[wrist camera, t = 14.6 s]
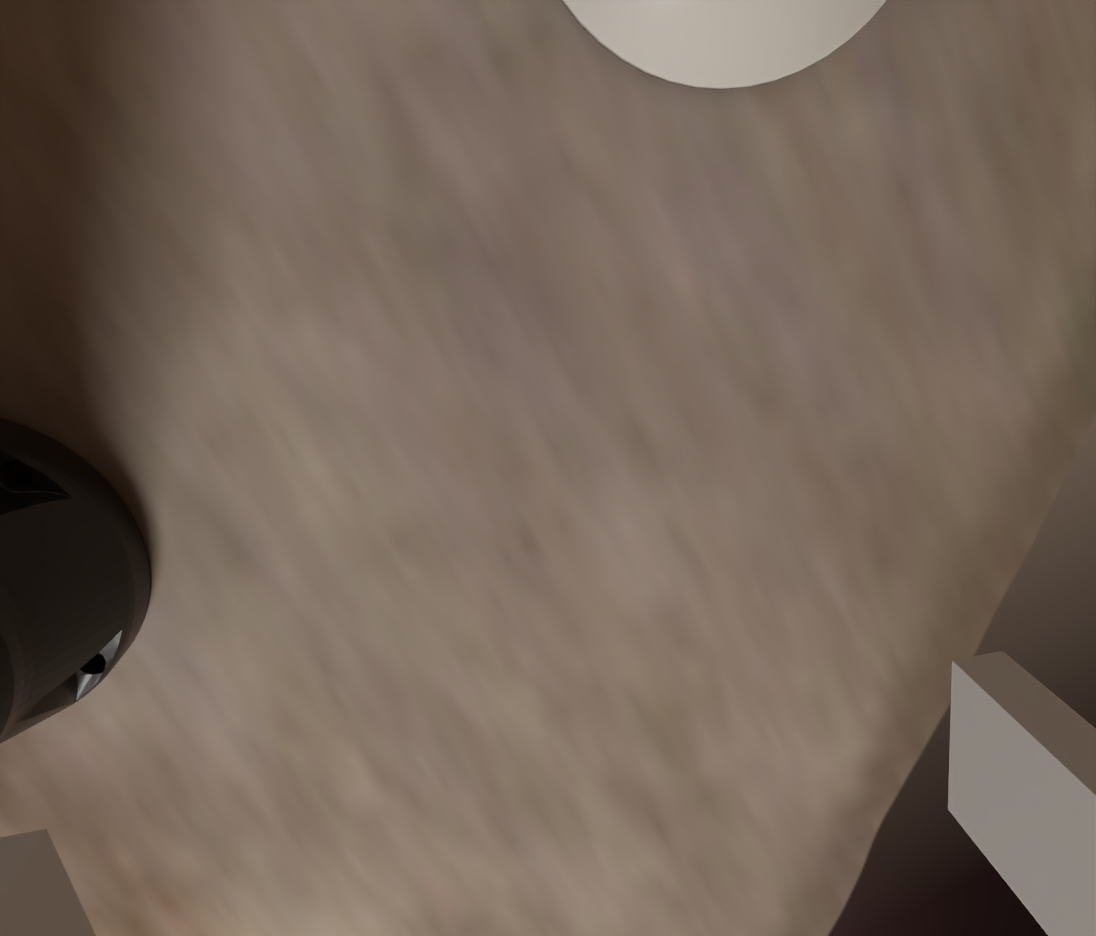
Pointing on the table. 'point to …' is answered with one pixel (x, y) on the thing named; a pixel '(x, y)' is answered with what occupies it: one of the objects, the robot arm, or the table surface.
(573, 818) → the table surface
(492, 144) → the table surface
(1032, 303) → the table surface
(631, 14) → the plate
